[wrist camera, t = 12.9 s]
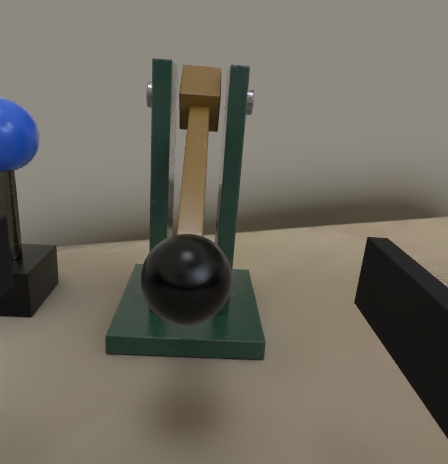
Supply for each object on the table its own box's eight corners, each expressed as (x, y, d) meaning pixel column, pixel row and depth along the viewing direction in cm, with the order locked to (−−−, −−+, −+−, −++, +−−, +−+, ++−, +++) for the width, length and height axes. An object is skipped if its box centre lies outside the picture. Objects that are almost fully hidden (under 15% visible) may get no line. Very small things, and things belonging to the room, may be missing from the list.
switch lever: (227, 342, 16) (237, 300, 14) (138, 338, 16) (129, 295, 13) (228, 112, 26) (234, 58, 23) (171, 107, 25) (170, 53, 23)
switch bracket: (263, 360, 23) (300, 65, 18) (105, 354, 23) (97, 48, 18) (247, 283, 33) (268, 75, 28) (135, 277, 32) (136, 64, 27)
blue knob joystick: (61, 282, 30) (50, 99, 26) (34, 317, 26) (15, 100, 21) (1, 279, 30) (-20, 93, 26) (-37, 314, 25) (-71, 93, 21)
